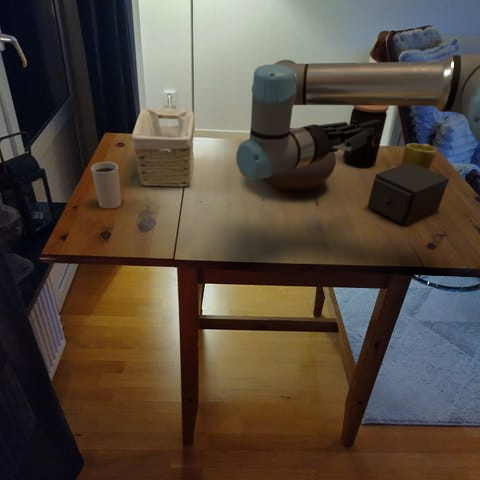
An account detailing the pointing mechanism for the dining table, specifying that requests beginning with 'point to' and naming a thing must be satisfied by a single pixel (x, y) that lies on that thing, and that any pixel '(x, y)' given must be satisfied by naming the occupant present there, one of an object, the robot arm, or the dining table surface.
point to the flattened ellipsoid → (304, 174)
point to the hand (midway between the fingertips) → (376, 126)
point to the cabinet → (417, 189)
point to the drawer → (389, 200)
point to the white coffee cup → (107, 184)
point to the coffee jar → (369, 150)
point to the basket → (164, 147)
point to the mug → (419, 155)
